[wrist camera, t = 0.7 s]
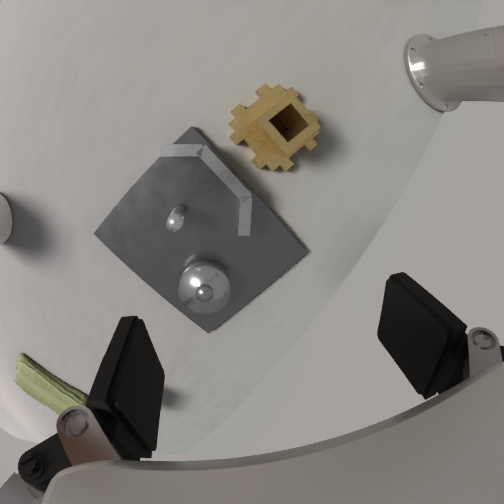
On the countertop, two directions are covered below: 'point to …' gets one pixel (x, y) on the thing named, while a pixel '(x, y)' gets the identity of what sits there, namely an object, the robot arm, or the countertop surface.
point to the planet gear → (265, 134)
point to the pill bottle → (5, 220)
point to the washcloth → (46, 386)
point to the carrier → (199, 233)
